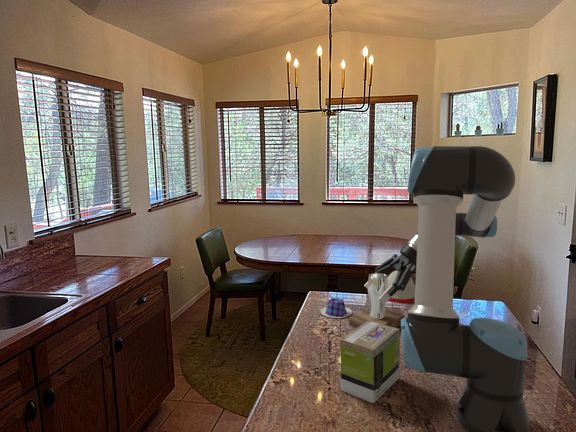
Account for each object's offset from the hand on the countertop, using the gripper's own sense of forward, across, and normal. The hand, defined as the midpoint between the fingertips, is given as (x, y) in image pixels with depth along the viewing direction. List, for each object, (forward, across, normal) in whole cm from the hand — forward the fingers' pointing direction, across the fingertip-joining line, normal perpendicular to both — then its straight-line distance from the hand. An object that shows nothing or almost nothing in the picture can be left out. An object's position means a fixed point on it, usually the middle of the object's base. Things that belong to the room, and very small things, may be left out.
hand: (373, 294), depth 148 cm
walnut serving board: (+7, 0, -9) cm, 11 cm away
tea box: (+19, -36, +2) cm, 41 cm away
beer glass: (+5, 0, -7) cm, 8 cm away
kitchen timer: (-7, +24, -23) cm, 34 cm away
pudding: (+15, +13, -2) cm, 20 cm away
